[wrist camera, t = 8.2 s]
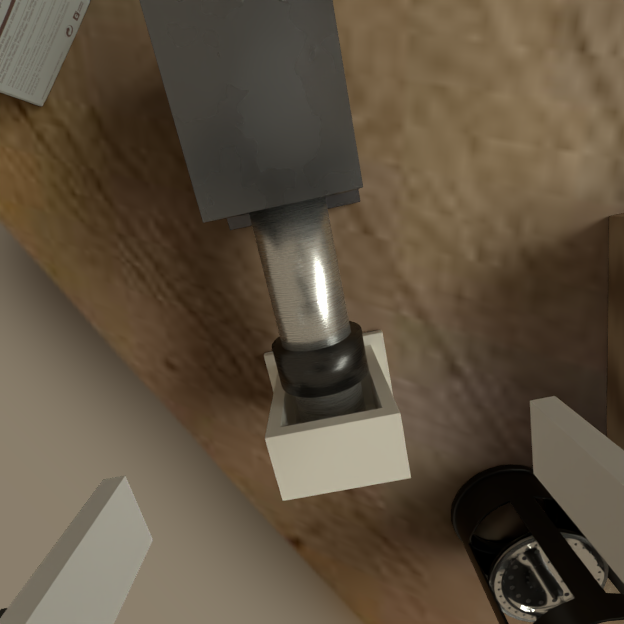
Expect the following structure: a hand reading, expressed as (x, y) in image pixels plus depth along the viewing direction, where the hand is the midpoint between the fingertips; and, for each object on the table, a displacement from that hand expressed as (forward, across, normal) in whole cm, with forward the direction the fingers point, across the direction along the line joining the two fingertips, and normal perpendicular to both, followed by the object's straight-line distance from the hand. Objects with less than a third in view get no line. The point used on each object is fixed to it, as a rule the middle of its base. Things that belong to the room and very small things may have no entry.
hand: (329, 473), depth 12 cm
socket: (+16, 0, -5) cm, 17 cm away
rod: (+13, 0, +3) cm, 13 cm away
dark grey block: (+16, 0, +13) cm, 21 cm away
